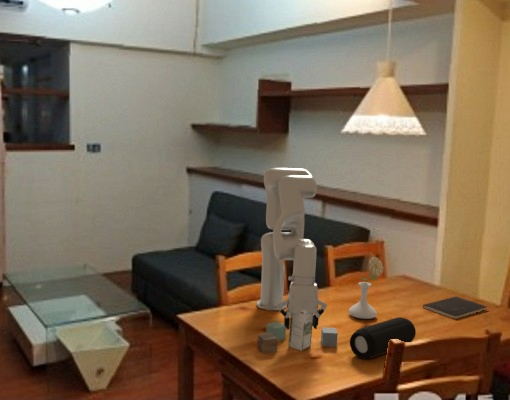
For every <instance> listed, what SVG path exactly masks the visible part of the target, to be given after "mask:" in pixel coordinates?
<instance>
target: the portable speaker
mask: <svg viewBox="0 0 510 400" xmlns="http://www.w3.org/2000/svg"><path fill="white" fill-rule="evenodd" d="M416 333H417V331H416V327H415V324H413V322H412V321H411V320H409V319H408V318H405V317H401V316H400V317H395V318H392V319H391V318H390V319H389V320H384V321H381V322H377V323H375V324H371V325H368V326H365V327H361V328H358V329H357V330H355V331H354V332H353V334H352V335H351V336H350V338H349V347H350V349H351V351H352V353H353V354H354V355H355V356H356V357H357V358H362V359H364V360H365V359H366V360H367V359H368V360H370V359H372V358H375V357H377V356H380V355H383V354H385V353H388V352H387V348H388V342H389V340H390V339H399V340H401V341H404V342H411V343H412V342H413V340H414V339H415V337H416Z"/></svg>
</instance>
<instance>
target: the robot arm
mask: <svg viewBox="0 0 510 400" xmlns="http://www.w3.org/2000/svg"><path fill="white" fill-rule="evenodd" d="M263 174H264V175H263V184H264V189H265V192H266V210H265V223H266V227H267V228H268V229H270V230H272V232H271V231H270V232H266V233H264V234H263V235H262V236H261V239H260V247H261V280H260V281H261V283H260V284H261V286H260V299H259V300H257V301H256V306H257V307H258V308H259V309H261V310H266V311H279V312H280V314H281V315H282V316H283V317H284V320H283V324H284V326H286V330H290V318H291V314H300V312H301V310H307V311H308V314H313V324H312V328H313V329H314V330H317V327H318V326H319V318H320V317H321V316H322V315H323V313H324V312H325V311H326V309H327V307H328V304H327V303H325V302H324V301H322V300H320V299H319V292H318V290H319V289H318V283H316V281H315V280H316V267H317V266H316V263H317V246H316V245H315V243H314V242H313V241H312V240H311V239H309V238H304V234H305V213H306V208H305V203H304V199H305V198H306V199H311V198H314V197H315V196H316V195H317V190H318V186H317V181H316V179H315V176H314V175H312V174H311V172H310V171H308V169H305V168H298V167H297V168H296V167H295V168H292V167H289V168H288V167H271V168H268V169H266V170H265V171H264V173H263ZM282 231H284V232H282ZM285 231H289V232H285ZM290 231H291V232H290ZM283 261H293V268H292V275H289V276H288V281H290V284H289V289H288V295H287V298H286V299H285V300H284V292H285V291H284V288H285V285H284V284H285V269H286V268H285V267H286V266H285V263H284V262H283ZM319 306H321V307H320V308H319ZM286 308H287V309H286ZM284 309H285V310H284Z"/></svg>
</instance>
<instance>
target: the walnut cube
mask: <svg viewBox="0 0 510 400" xmlns="http://www.w3.org/2000/svg"><path fill="white" fill-rule="evenodd" d="M277 339H278V338H277V337H276V336H274V335H273V334H272V333H266V332H265V333H259V334H257V344H256V345H257V346H256V349H257V350H258V351H260V352H261V353H262V354H263V355H266V354H272V353H277V352H278V341H277Z"/></svg>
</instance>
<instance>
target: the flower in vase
mask: <svg viewBox="0 0 510 400" xmlns="http://www.w3.org/2000/svg"><path fill="white" fill-rule="evenodd" d="M368 267H369V268H368V269H369V270H370V272H369V275H368V277H364V276H362V275H361V277H360V279H361V280H363V281H360V282H358V285H359V287H360V294H361V295H360V300H359V301H358V302H357V303H355V304H353V305H352V306H351V307H349V309H348V313H349V314H350V315H351V316H352V317H355V318H357V319H362V320H363V319H364V320H368V319H373V318H376V316H377V315H378V314H377V311H376V309H375V308H374V307H373V306H372V305H371V304H369V303H368V301H367V299H368V298H367V296H368V291H369V289H370V287H371V286H372V283H371V282H368V280H369V279H371V281H375V280H378V277H379V276H380V275H382V274H383V272H384V266H383V263H382V261H381V260H380V259H379V258H378V257H377V256H372V257H371V259H369V261H368Z"/></svg>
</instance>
